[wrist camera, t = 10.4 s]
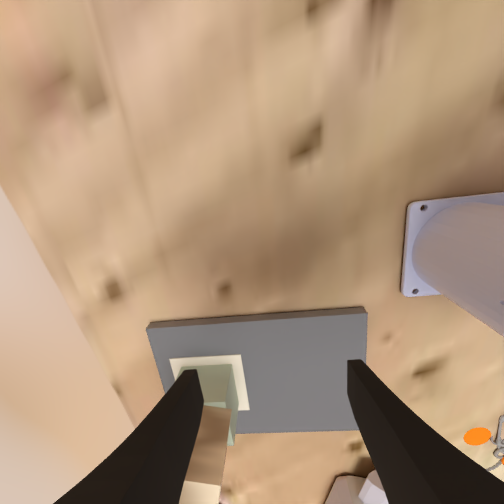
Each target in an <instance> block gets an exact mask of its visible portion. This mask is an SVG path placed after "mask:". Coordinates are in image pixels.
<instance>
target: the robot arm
mask: <svg viewBox="0 0 504 504" xmlns="http://www.w3.org/2000/svg"><path fill="white" fill-rule="evenodd" d="M422 205H424V209H423V210H420V207H421V206H422ZM414 289H416V290H415V291H414V292H412V291H413V290H414ZM401 293H402V294H403V295H404V296H406V297H414V296H428V295H441V294H442V295H444V296H445V297H447V298H448V299H450V300H451V301H453V302H454V303H455V304H457V305H458V306H460V307H461V308H463V309H464V310H466V311H467V312H468V313H470V314H471V315H473V316H474V317H476V318H477V319H479V320H480V321H481V322H483V323H484V324H486V325H487V326H489V327H490V328H492V329H493V330H495V331H496V332H497V333H499V334H500V335H502V336H503V337H504V192H498V193H488V194H479V195H470V196H461V197H452V198H443V199H434V200H424V201H415V202H412V203H410V204H409V206H408V208H407V219H406V232H405V245H404V257H403V270H402V282H401ZM347 395H348V398H349V402H350V405H351V408H352V412H353V415H354V418H355V421H356V423H357V426H358V428H359V430H360V433H361V435H362V438H363V440H364V442H365V445H366V447H367V450H368V452H369V454H370V457H371V459H372V462H373V464H374V466H375V469H376V471H377V474H378V476H379V478H380V481H381V484H382V486H383V489H384V491H385V494H386V497H387V500H388V503H389V504H504V482H503V481H501V480H500V479H498V478H497V477H495V476H494V475H493V474H491V473H490V472H488V471H487V470H486V469H484V468H483V467H482V466H480V465H479V464H477V463H476V462H475V461H473V460H472V459H470V458H469V457H468V456H466V455H465V454H464V453H462V452H461V451H460V450H458V449H457V448H456V447H454V446H453V445H452V444H451V443H449V442H448V441H447V440H446V439H444V438H443V437H442V436H441V435H439V434H438V433H437V432H436V431H435V430H433V429H432V428H431V427H430V426H429V425H428V424H426V423H425V422H424V421H423V420H422V419H421V418H420V417H418V416H417V415H416V414H415V413H414V412H413V411H412V410H411V409H410V408H409V407H408V406H406V405H405V404H404V403H403V402H402V401H401V400H400V399H399V398H398V397H397V396H396V395H395V394H394V393H393V392H392V391H391V390H390V389H389V388H388V387H387V386H386V385H385V384H384V383H383V382H382V381H381V380H380V379H379V378H378V377H377V376H376V375H375V374H374V372H373V371H372V370H371V369H370V368H369V367H368V366H367V365H366V364H365V363H364V362H363V361H362V360H361V359H355V360H347ZM203 405H204V398H203V394H202V389H201V385H200V381H199V377H198V373H197V369H188V370H184V371H183V372H182V373H181V375H180V376H179V377H178V378H177V380H176V381H175V382H174V384H173V385H172V386H171V387H170V389H169V390H168V391H167V392H166V394H165V395H164V396H163V397H162V399H161V400H160V401H159V402H158V404H157V405H156V406H155V407H154V408H153V410H152V411H151V412H150V413H149V414H148V415H147V417H146V418H145V419H144V420H143V421H142V422H141V423H140V424H139V426H138V427H137V428H136V429H135V430H134V431H133V432H132V433H131V434H130V435H129V436H128V437H127V438H126V440H125V441H124V442H123V443H122V444H121V445H120V446H119V447H118V448H117V449H116V450H115V451H114V452H112V453H111V455H110V456H108V457H107V458H106V459H105V460H104V461H103V462H102V463H101V464H99V465H98V466H97V467H96V468H95V469H94V470H93V471H92V472H91V473H89V474H88V475H87V476H86V477H85V478H84V479H83V480H82V481H80V482H79V483H78V484H77V485H76V486H74V487H73V488H72V489H71V490H70V491H68V492H67V493H66V494H65V495H63V496H62V497H61V498H60V499H58V500H57V501H56V502H55V503H53V504H179V501H180V496H181V492H182V488H183V484H184V480H185V477H186V473H187V470H188V466H189V463H190V459H191V456H192V452H193V449H194V445H195V441H196V438H197V434H198V431H199V427H200V423H201V417H202V411H203Z"/></svg>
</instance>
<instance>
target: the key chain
mask: <svg viewBox="0 0 504 504" xmlns="http://www.w3.org/2000/svg"><path fill="white" fill-rule="evenodd" d="M503 422H504V415H502V416H500V419H499V428H498V435H497V439H496V443H494V442H493V440H492V438H493V436H492V437H491V433H490V431H489V430H488V429H486V428H474V429H471V430H469V431H468V432H467V433H466V434H465V435H464V441H465V442H466V443H467V444H470V445H480V444H483V443H485V442H487V441H488V440H489V439H491V442H492V443H493V444H495V445H497V450H495V452H494V456H495V457H496V458H499V459H500V460H499V463H497V464H496V465H494V466H492V467H490V468H489V469H486V470H487V471H491V470H493V469H495V468H497V467H498V466H499V465H501V464H503V465H504V456H498V453H499V452H501V453H503V454H504V451H503V450H504V440H502V441H501V437H500V436H501V427H502V423H503ZM500 446H501V447H500Z"/></svg>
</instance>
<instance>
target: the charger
mask: <svg viewBox="0 0 504 504" xmlns="http://www.w3.org/2000/svg"><path fill="white" fill-rule="evenodd" d="M325 504H389V503H388V500H387V497H386V494H385V491H384V489H383V486H382V484H381V481H380V478H379V476H378V474H377V471H376V470H374V471H372V472H371V473H369V475H368V477H367V478H362V477H356V476H339V477H337V479H336V481H335V483H334V485H333V487H332V489H331V492H330V494H329V496H328V498H327V500H326V502H325Z"/></svg>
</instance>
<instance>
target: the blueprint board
mask: <svg viewBox="0 0 504 504" xmlns="http://www.w3.org/2000/svg"><path fill="white" fill-rule="evenodd" d="M367 318H368V313H367V312H366V310H365V309H364V307H355V308H342V309H328V310H314V311H301V312H287V313H273V314H260V315H246V316H232V317H219V318H205V319H191V320H178V321H164V322H151V323H150V324H149V325H148V327H147V328H146V332H147V335H148V338H149V341H150V345H151V348H152V351H153V355H154V358H155V361H156V365H157V368H158V371H159V375H160V378H161V381H162V385H163V388H164V391H165V394H166V392H167V391H168V390H169V389H170V387H171V386H172V385H173V384H174V382H175V380H176V378H177V376H178V373H179V371H180V369H181V367H185V366H204V365H222V364H232V368H233V373H234V379H235V385H236V390H237V396H238V401H239V406H238V415H237V423H236V432H235V434H246V433H281V432H316V431H350V430H359V428H358V426H357V423H356V421H355V418H354V415H353V412H352V408H351V405H350V402H349V398H348V395H347V360H355V359H361V360H362V361H363V362H364V363H365V364H366V348H367Z"/></svg>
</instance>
